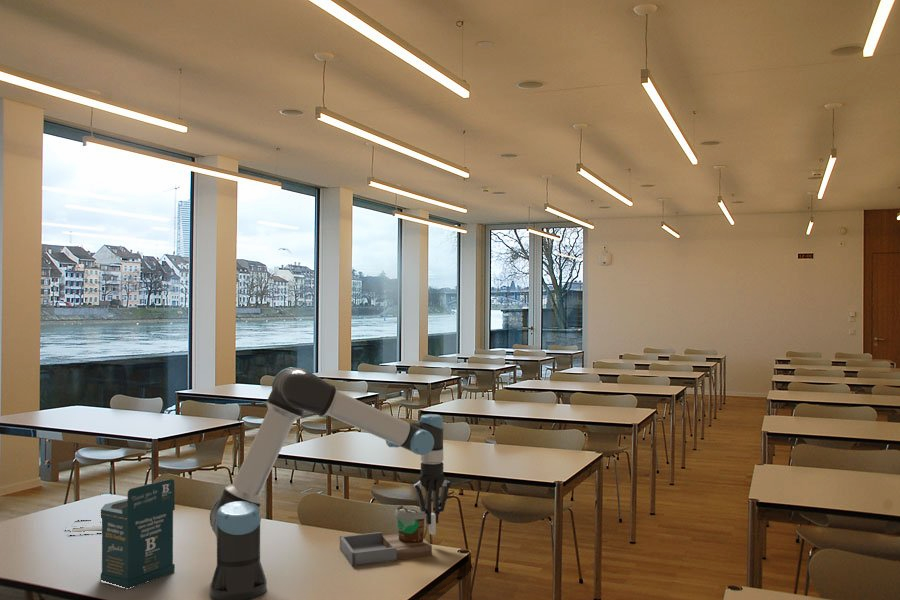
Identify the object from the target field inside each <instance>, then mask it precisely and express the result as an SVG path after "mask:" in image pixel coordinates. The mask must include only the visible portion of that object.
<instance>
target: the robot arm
mask: <svg viewBox="0 0 900 600" xmlns="http://www.w3.org/2000/svg"><path fill="white" fill-rule="evenodd" d="M272 381H273V382H272V385H271V391H270V393H269V396H268V398H267V400H266V402H265V403H266V406H267V412H266V413H265V416H264V418H263V420H262V422H261V424H260V426H259V428H258V430H257V432H256V434H255V437H254V439H253V442H252V443H251V444H250V447H249V449H248V452H247V454H246V456H245V457H244V459H243V462H242V464H241V465H240V468H239V470H238V472H237V473H236V476H235V478H234V481H233V482H232V483H231V484H229V485H227V486H225V487H224V489H223V492H222V494H221V495H220V496H219V497H220V498H218V499H217V500H216V501H215V502H214V503H213V505H212V508H211V509H210V512H209V523H210V527H211V529H212V531H213V533H214V535H215V537H216V567H215V570H214V573H213V577H212V579H211V581H210V582H211V583H210V586H209V594H210V597H211V598H212V599H214V600H251V599H254V598H257V597H259V596H262V594H264V593H265V592H266V591H267V588H268V587H267V584H268V582H267V577H266V575H265V571H264V569H263V568H264V567H263V566H262V563H261V520H262V515H261V510H260V507H261V505H262V504H263V503H262V499H261V493H262V490H263V489H264V486H265V484H266V482H267V479H268V478H269V476H270V474H271V471H272V469H273V468H274V465H275V463H276V461H277V459H278V457H279V455H280V452H281V450H282V448H283V447H284V444H285V442H286V439H287V437H288V435H289V434H290V431H291V429H292V427H293V425H294V422H295V421H297V420H299V419H301V418H302V417H303V415H304V413H305V412H307V413H311V414H314V415H317V416H319V417H321V418H322V417H325V416H329V417H331V418H333V419H335V420H338V421H341V423H342V422H343V423H345V424H347V425H349V426H352V427H354V428H356V429H359V430H362V431H363V432H366V433H368V434H371V435H372V436H375V437H378V438H380V439H383V440H384V441H385V444H386V445H387V447H388V448H403V449H405V450H408V451H410V452H412V453H413V454H415V455H420V461H421V463H420V477H419V478H418V479H419V480H418V481H417V482H416V483H413V484H412V487H413V488H414V490H415V492H416V497H417V501H418V505H419V510H420V512H424V511H425V515H426V518H425V522H426V524H427V525H428V534H430V535H431V536H435V535H436V534H437V528H436V527H437V524H439V515H440V513H441V512H444V511H445V507H446V501H447V498H448V497H447V496H448V493H449V489H450V487H451V485H452V482H451V481H449V480H447V479H446V477H445V476H444V462H443V461H444V420H443V416H442V415H440V414H432V413H429V414H428V413H427V414H422V415H421V416H420V419H419V421H416V422H413V421H412V422H407V421H405V420H403V419H400V418H398V417H397V416H394V415H391V414H389V413H387V412H385V411H383V410H381V409H378V408H376V407H374V406H371V405H370V404H367V403H365V402H364V401H363V402H362V401H360V400H358V399H356V398H353V397H351V396H349V395H347V394H345V393H343V392H340V391H338V388H337V386H335V385H332V384H330V382H327V381H325V380H324V379H322V378H321V377H319V376H318V375H316V374H315V373H313V372H312V371H309V370H308V369H307V370H306V369H303V368H301V367H298V366H297V367H296V366H291V367H287V368H284V369H282V370H281V371H279V372H278V373H277V374H276V375H275V377H274V379H273V380H272ZM422 487H423V488H424V492H425V500H424V495H423V493H422V490H421V489H422ZM441 487H442V488H441ZM440 488H441V492H440ZM440 493H441V494H440ZM439 494H440V495H439ZM432 511H433V512H432Z"/></svg>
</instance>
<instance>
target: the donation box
mask: <svg viewBox="0 0 900 600" xmlns="http://www.w3.org/2000/svg"><path fill="white" fill-rule="evenodd" d="M175 505H176V501H175V479H173V478H170V479H163V480H160V481H157V482H153V483H147V484H144V485H140V486H136V487H132V488H129V490H127V498H125V499H121V500H116V501H112V502H109V503H104V505H103V506H102V507H101V509H100V515H101V518H102V534H101V536H102V537H101V573H100V581H101V580H103V581H106V582H109V583H112V584H116V585H119V586H122V587H125V588H130V587H133V586H136V587H138V586H137V585H139V584H142V583H144V584H146V583H145V582H147V581H149V582H152V581H154V580H153V579H155V580H157V579H156V578H158V579H160V578H163V577H165V576H167V575H171V574H173V573H175V570H176V569H175V568H176V566H175V563H174V511H175V510H176V508H175V507H176V506H175ZM151 580H152V581H151ZM147 583H148V582H147ZM142 585H143V584H142ZM139 586H140V585H139Z"/></svg>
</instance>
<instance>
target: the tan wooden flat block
mask: <svg viewBox="0 0 900 600" xmlns="http://www.w3.org/2000/svg"><path fill="white" fill-rule="evenodd" d="M382 544H383V545H384V546H385V547H386V548H391V547H396V552H397V561H398V560H404V559H413V558H420V557H427V556H428V555H429V556H433V547H432V546H433V545H432V544H431V543H430V542H429V541H427V540H426V539H425V538H424V537H423V542H421V543H404V542H401V541H399V534H398V533H394V534H385V535H383V534H382Z"/></svg>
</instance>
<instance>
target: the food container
mask: <svg viewBox="0 0 900 600" xmlns="http://www.w3.org/2000/svg"><path fill="white" fill-rule="evenodd" d="M394 516H395V517H396V521H397V534H399V541H401V542H404V543H421V542H423V538H424V532H425V520H426V514H425V511H424V512H421V511H416V510H415V509H412V508H411V509H409V508H405V507H404V505H403V504H400V505H399V506H397V507H396V509H395V513H394Z"/></svg>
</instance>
